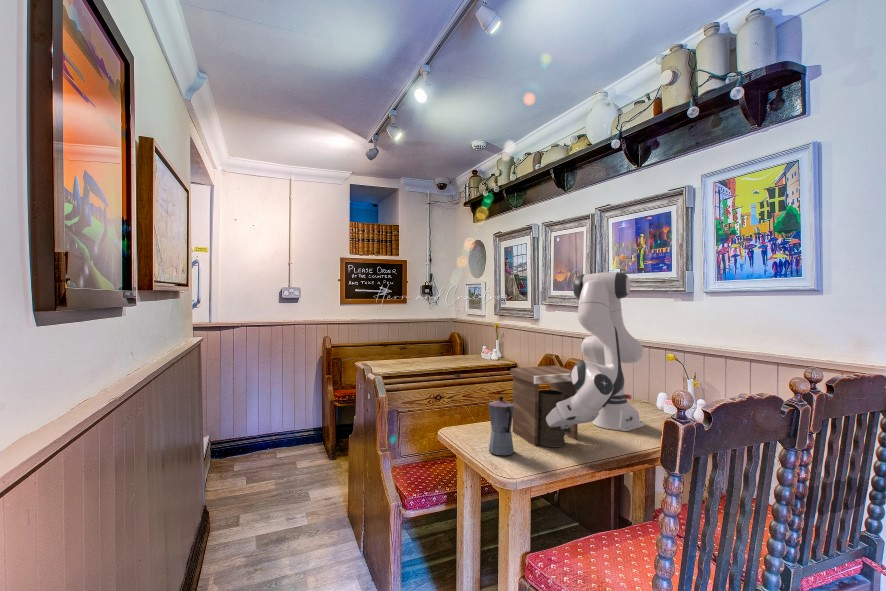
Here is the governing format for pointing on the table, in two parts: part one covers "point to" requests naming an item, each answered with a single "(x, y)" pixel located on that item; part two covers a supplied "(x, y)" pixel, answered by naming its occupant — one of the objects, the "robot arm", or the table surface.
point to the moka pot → (501, 427)
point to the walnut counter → (536, 397)
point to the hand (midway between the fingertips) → (563, 426)
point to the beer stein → (546, 433)
